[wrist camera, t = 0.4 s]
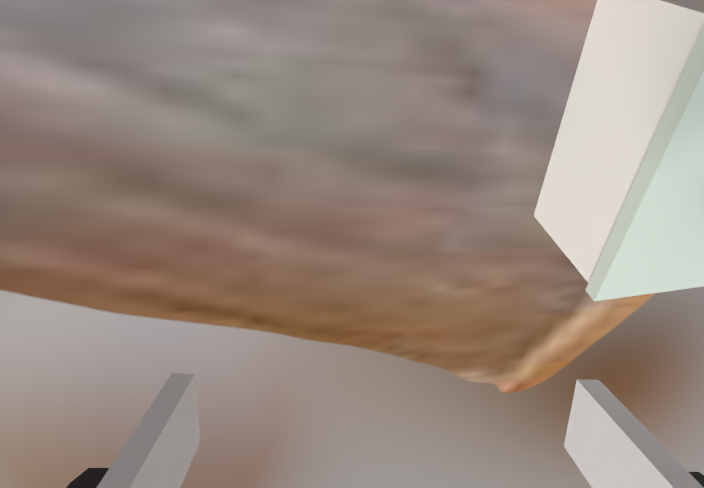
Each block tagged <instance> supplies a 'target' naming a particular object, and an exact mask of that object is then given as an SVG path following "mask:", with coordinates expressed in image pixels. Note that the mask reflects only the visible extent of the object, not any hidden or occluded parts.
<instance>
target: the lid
mask: <svg viewBox="0 0 704 488" xmlns="http://www.w3.org/2000/svg"><path fill="white" fill-rule="evenodd" d="M702 286H704V25H703V28H702V30H701V32H700V34H699V37H698V39H697V41H696V43H695V46H694V48H693V50H692V52H691V55H690V57H689V59H688V61H687V64H686V66H685V68H684V70H683V73H682V75H681V77H680V79H679V82H678V84H677V86H676V88H675V90H674V93H673V95H672V97H671V99H670V102H669V104H668V106H667V108H666V111H665V113H664V115H663V117H662V120H661V122H660V124H659V126H658V129H657V131H656V133H655V135H654V138H653V140H652V142H651V144H650V147H649V149H648V151H647V153H646V156H645V158H644V160H643V162H642V165H641V167H640V169H639V171H638V174H637V176H636V178H635V180H634V183H633V185H632V187H631V189H630V192H629V194H628V196H627V198H626V201H625V203H624V205H623V207H622V209H621V212H620V214H619V216H618V218H617V221H616V223H615V225H614V227H613V230H612V232H611V234H610V236H609V239H608V241H607V243H606V245H605V248H604V250H603V252H602V254H601V257H600V259H599V261H598V263H597V266H596V268H595V270H594V272H593V275H592V277H591V279H590V281H589V284H588V286H587V288H586V291H587V293H588V294H589V295H590V297H591V298H592V299H593V300H594V301H600V300H607V299H615V298H622V297H629V296H636V295H644V294H651V293H658V292H666V291H672V290H680V289H687V288H694V287H702Z"/></svg>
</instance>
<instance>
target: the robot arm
mask: <svg viewBox="0 0 704 488" xmlns="http://www.w3.org/2000/svg"><path fill="white" fill-rule="evenodd" d="M199 443H200V436H199V423H198V410H197V397H196V383H195V374H171V376H170V377H169V379H168V380H167V382H166V383H165V385H164V386H163V388H162V389H161V391H160V392H159V394H158V395H157V397H156V398H155V400H154V401H153V403H152V404H151V406H150V408H149V409H148V411H147V412H146V414H145V415H144V416H143V418H142V419H141V421H140V423H139V424H138V426H137V427H136V429H135V430H134V432H133V433H132V435H131V436H130V438H129V439H128V441H127V442H126V444H125V445H124V447H123V448H122V450H121V452H120V453H119V454H118V456H117V458H116V459H115V461H114V462H113V463H112V465H111V467H110V468H88V469H87V470H86V471H85V472H83V473H82V474H81V475H80V476H78V477H77V478H76V479H74V480H73V481H72V482H71V483H70V484H69V485H68V487H67V488H180V486H181V485H182V482H183V480H184V478H185V475H186V473H187V470H188V469H189V466H190V464H191V462H192V459H193V457H194V455H195V452H196V450H197V448H198V446H199ZM564 447H565V448H566V450H567V451H568V453H569V454H570V456H571V457H572V459H573V460H574V462H575V463H576V465H577V466H578V467H579V469H580V470H581V472H582V473H583V475H584V476H585V478H586V479H587V481H588V482H589V483H590V485H591V487H592V488H704V475H702V474H701V473H699V472H688V471H687V470H686V469H685V468H684V467H683V466H682V465H681V464H680V463H679V462H678V461H677V460H676V459H675V458H674V457H673V456H672V455H671V454H670V453H669V452H668V451H667V450H666V449H665V448H664V447H663V446H662V444H660V442H659V441H658V440H656V438H655V437H654V436H653V435H652V434H651V433H650V432H649V431H648V430H647V429H646V428H645V427H644V426H643V425H642V424H641V423H640V422H639V421H638V420H637V419H636V418H635V417H634V416H633V415H632V414H631V413H630V412H629V411H628V410H627V408H626V407H625V406H624V405H623V404H622V403H621V402H620V401H619V400H618V399H617V398H616V397H615V396H614V395H613V394H612V393H611V392H610V391H609V390H608V389H607V388H606V387H605V386H604V385H603V384H602V383H601V382H600V381H599V380H577V383H576V387H575V392H574V398H573V403H572V408H571V413H570V418H569V423H568V428H567V434H566V438H565V444H564Z"/></svg>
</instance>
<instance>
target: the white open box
mask: <svg viewBox="0 0 704 488" xmlns="http://www.w3.org/2000/svg"><path fill="white" fill-rule="evenodd" d="M703 25H704V0H597V3H596V6H595V9H594V13H593V16H592V20H591V23H590V26H589V30H588V33H587V37H586V40H585V43H584V47H583V50H582V53H581V57H580V60H579V64H578V67H577V70H576V74H575V77H574V81H573V84H572V87H571V91H570V94H569V98H568V101H567V104H566V108H565V111H564V115H563V118H562V121H561V125H560V128H559V131H558V135H557V138H556V142H555V145H554V148H553V152H552V155H551V159H550V162H549V165H548V169H547V172H546V176H545V179H544V182H543V186H542V189H541V192H540V196H539V199H538V203H537V206H536V209H535V213H534V217H535V218H536V219H537V220H538V222H539V223H540V224H541V225H542V226H543V228H544V229H545V230H546V231H547V233H548V234H549V235H550V236H551V238H552V239H553V240H554V241H555V242H556V244H557V245H558V246H559V247H560V249H561V250H562V251H563V252H564V253H565V255H566V256H567V257H568V258H569V260H570V261H571V262H572V263H573V265H574V266H575V267H576V268H577V269H578V271H579V272H580V273H581V274H582V276H583V277H584V278H585V279H586V281H587V282H588V283H589V281H590V279H591V277H592V275H593V272H594V270H595V268H596V266H597V263H598V261H599V259H600V257H601V254H602V252H603V250H604V248H605V245H606V243H607V241H608V239H609V236H610V234H611V232H612V230H613V227H614V225H615V223H616V221H617V218H618V216H619V214H620V212H621V209H622V207H623V205H624V203H625V201H626V198H627V196H628V194H629V192H630V189H631V187H632V185H633V183H634V180H635V178H636V176H637V174H638V171H639V169H640V167H641V165H642V162H643V160H644V158H645V156H646V153H647V151H648V149H649V147H650V144H651V142H652V140H653V138H654V135H655V133H656V131H657V129H658V126H659V124H660V122H661V120H662V117H663V115H664V113H665V111H666V108H667V106H668V104H669V102H670V99H671V97H672V95H673V93H674V90H675V88H676V86H677V84H678V82H679V79H680V77H681V75H682V73H683V70H684V68H685V66H686V64H687V61H688V59H689V57H690V55H691V52H692V50H693V48H694V46H695V43H696V41H697V39H698V37H699V34H700V32H701V30H702V28H703Z"/></svg>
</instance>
